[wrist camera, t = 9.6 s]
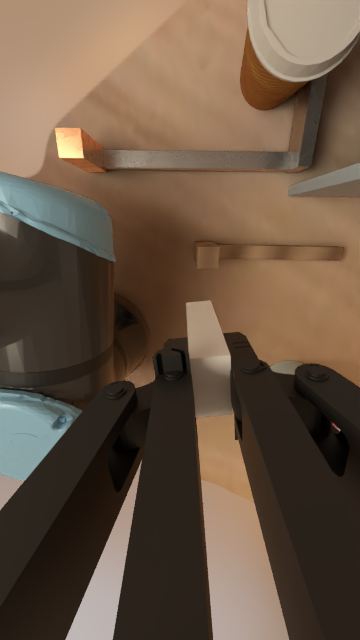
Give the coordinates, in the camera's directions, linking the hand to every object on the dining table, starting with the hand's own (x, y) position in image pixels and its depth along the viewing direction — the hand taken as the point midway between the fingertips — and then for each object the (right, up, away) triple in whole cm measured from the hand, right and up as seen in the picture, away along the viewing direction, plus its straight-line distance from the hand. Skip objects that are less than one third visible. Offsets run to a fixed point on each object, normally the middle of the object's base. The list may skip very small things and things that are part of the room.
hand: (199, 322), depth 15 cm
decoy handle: (+11, +10, +21) cm, 26 cm away
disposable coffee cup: (+9, +29, +14) cm, 33 cm away
